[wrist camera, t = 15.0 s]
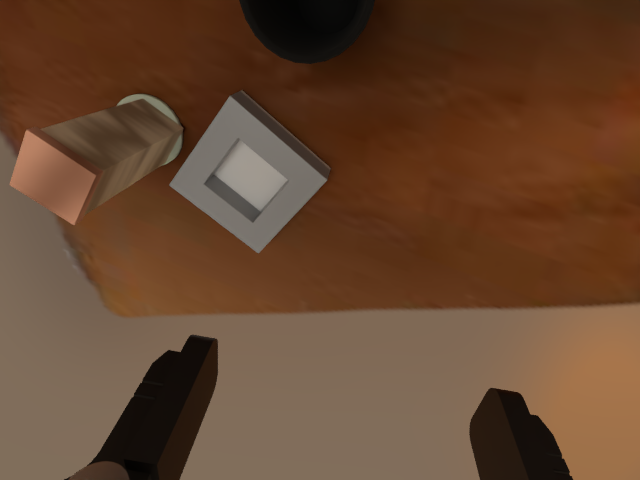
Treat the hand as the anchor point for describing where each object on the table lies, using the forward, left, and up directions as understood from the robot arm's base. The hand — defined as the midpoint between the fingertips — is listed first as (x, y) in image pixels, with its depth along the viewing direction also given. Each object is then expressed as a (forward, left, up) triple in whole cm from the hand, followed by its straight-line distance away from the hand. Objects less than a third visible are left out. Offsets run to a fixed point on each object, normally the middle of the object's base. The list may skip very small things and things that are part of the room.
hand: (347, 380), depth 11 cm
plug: (-16, -13, -28) cm, 35 cm away
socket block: (-6, -10, -29) cm, 31 cm away
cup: (-10, +6, -29) cm, 31 cm away
